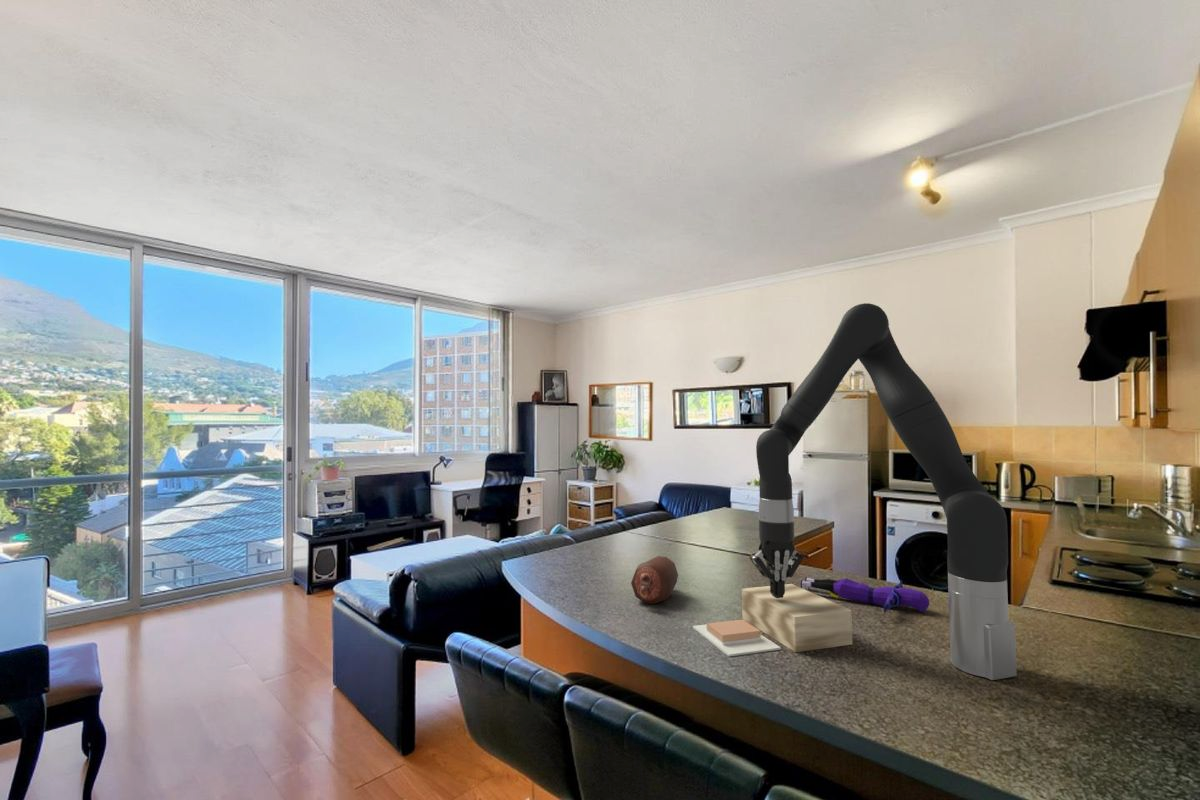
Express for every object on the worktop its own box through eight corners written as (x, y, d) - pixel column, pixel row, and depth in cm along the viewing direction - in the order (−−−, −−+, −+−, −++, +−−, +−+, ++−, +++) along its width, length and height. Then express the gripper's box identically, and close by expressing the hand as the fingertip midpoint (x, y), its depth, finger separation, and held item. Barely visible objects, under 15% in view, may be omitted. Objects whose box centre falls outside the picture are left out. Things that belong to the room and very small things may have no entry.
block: (852, 644, 111) (851, 610, 112) (795, 652, 107) (794, 617, 108) (792, 612, 130) (792, 583, 131) (742, 618, 127) (741, 588, 127)
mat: (780, 649, 109) (780, 647, 109) (728, 656, 105) (728, 654, 105) (739, 622, 124) (739, 620, 124) (692, 627, 121) (692, 625, 121)
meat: (647, 586, 153) (647, 550, 154) (686, 591, 148) (686, 554, 149) (622, 606, 135) (622, 565, 136) (665, 612, 130) (665, 570, 131)
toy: (788, 606, 137) (923, 631, 119) (787, 585, 137) (922, 606, 119) (817, 582, 159) (935, 600, 141) (816, 563, 159) (934, 579, 141)
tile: (722, 635, 110) (722, 645, 110) (760, 630, 113) (760, 640, 112) (706, 623, 117) (706, 632, 117) (742, 619, 119) (742, 628, 119)
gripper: (759, 522, 114) (761, 605, 113) (812, 519, 117) (814, 599, 116) (741, 517, 121) (742, 594, 120) (791, 514, 125) (792, 589, 124)
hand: (777, 596), depth 118 cm, fingers closed
